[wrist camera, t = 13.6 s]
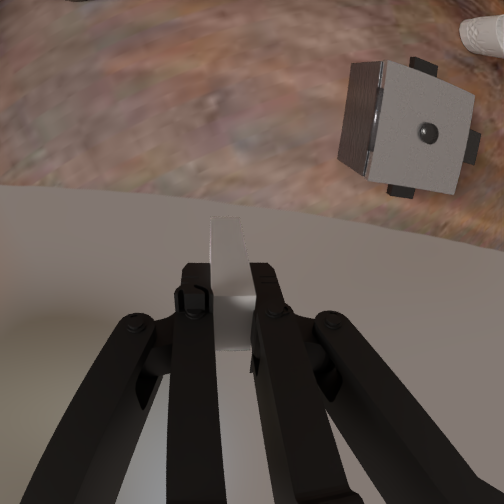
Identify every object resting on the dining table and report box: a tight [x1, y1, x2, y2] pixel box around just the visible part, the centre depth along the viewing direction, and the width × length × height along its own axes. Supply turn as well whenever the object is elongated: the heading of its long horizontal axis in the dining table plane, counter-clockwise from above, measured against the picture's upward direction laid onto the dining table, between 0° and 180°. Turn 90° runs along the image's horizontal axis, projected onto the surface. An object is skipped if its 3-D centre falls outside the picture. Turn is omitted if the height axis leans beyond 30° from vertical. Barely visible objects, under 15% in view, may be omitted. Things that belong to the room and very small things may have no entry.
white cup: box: [459, 15, 504, 59], centre depth 30 cm, size 8×8×10 cm
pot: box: [337, 57, 438, 199], centre depth 39 cm, size 20×15×9 cm
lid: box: [364, 60, 481, 195], centre depth 34 cm, size 15×19×2 cm
